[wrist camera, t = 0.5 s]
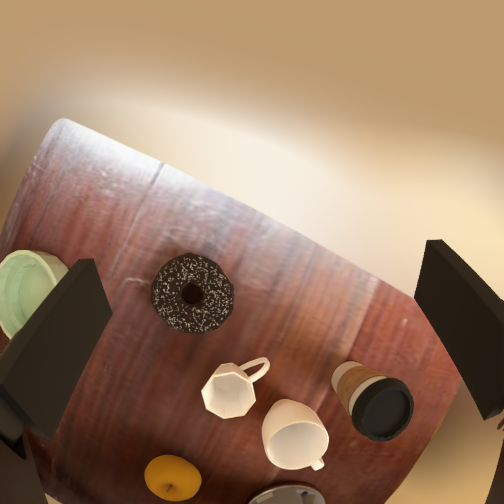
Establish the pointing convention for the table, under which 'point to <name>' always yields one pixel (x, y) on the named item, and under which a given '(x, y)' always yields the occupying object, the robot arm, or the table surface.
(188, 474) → the apple
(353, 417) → the coffee cup
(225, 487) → the table surface
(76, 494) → the table surface
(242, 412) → the cup
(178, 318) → the donut
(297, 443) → the mug
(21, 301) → the serving bowl
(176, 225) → the table surface
